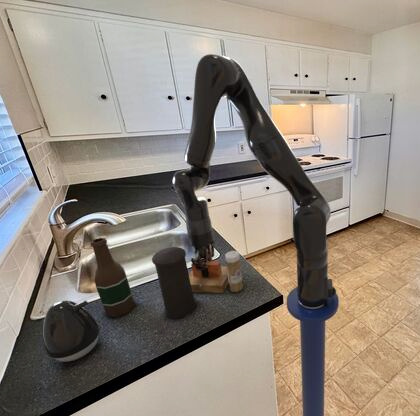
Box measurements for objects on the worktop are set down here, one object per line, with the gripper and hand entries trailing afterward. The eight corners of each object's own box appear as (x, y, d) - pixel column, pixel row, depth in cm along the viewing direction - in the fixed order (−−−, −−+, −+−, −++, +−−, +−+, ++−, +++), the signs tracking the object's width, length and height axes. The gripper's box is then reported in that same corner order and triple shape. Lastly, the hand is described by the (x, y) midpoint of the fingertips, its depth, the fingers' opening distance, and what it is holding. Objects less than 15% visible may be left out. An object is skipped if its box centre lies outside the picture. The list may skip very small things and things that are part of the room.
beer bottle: (130, 315, 80) (107, 244, 71) (100, 320, 78) (73, 248, 69) (139, 298, 87) (119, 232, 78) (112, 302, 85) (88, 235, 76)
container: (199, 297, 87) (188, 243, 80) (192, 317, 79) (180, 259, 71) (170, 300, 86) (157, 245, 78) (161, 321, 77) (145, 262, 70)
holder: (221, 272, 94) (219, 260, 92) (219, 277, 92) (217, 264, 90) (196, 272, 95) (194, 259, 93) (193, 276, 92) (191, 263, 90)
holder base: (234, 271, 100) (233, 264, 99) (222, 295, 88) (220, 287, 87) (197, 270, 101) (196, 263, 100) (180, 294, 89) (178, 286, 87)
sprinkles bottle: (238, 293, 88) (233, 258, 84) (226, 290, 90) (221, 256, 85) (246, 285, 92) (242, 251, 87) (234, 282, 94) (230, 249, 89)
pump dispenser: (96, 361, 66) (76, 312, 60) (43, 375, 62) (17, 325, 57) (110, 330, 74) (93, 285, 69) (64, 341, 71) (43, 294, 66)
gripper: (201, 239, 80) (210, 286, 86) (218, 220, 93) (225, 262, 99) (177, 239, 80) (187, 286, 87) (197, 220, 93) (205, 262, 100)
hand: (207, 273), depth 93 cm, fingers closed on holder, 2 cm apart
